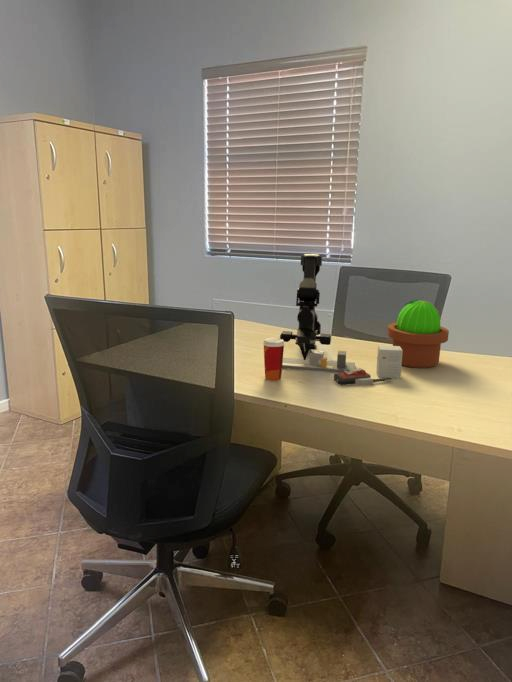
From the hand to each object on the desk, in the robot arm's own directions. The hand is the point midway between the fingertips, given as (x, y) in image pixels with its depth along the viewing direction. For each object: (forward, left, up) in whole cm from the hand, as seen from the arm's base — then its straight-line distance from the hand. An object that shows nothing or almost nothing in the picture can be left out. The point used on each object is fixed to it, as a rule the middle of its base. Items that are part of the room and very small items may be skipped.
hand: (304, 359), depth 198 cm
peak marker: (+4, +8, -1) cm, 8 cm away
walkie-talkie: (+13, +21, -3) cm, 25 cm away
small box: (+4, +31, -3) cm, 31 cm away
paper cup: (+17, -9, -3) cm, 20 cm away
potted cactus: (-16, +42, -3) cm, 45 cm away
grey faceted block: (+1, +5, -1) cm, 5 cm away
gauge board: (0, +4, -3) cm, 4 cm away
